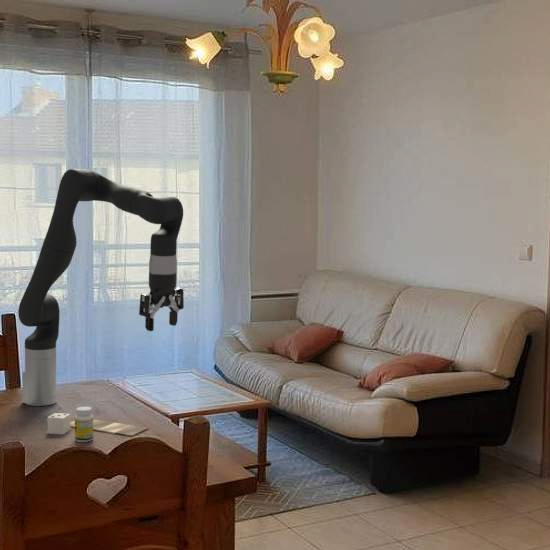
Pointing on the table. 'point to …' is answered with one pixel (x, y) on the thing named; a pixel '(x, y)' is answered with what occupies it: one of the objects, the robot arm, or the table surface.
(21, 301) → the robot arm
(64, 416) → the die
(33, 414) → the table surface
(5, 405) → the table surface
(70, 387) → the table surface
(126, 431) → the track
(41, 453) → the table surface
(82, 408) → the supplement bottle
